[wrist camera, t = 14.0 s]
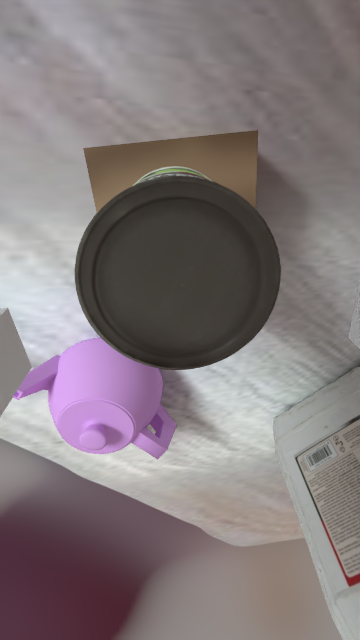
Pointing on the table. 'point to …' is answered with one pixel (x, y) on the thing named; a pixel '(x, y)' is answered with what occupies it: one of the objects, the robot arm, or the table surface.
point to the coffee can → (177, 271)
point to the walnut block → (176, 163)
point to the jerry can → (327, 489)
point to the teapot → (103, 399)
